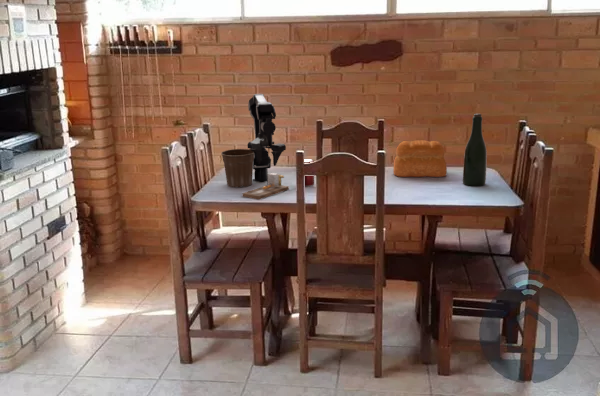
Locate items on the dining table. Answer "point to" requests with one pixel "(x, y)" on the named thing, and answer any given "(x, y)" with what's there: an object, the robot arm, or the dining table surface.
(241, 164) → the plant pot
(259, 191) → the board
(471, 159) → the green wine bottle
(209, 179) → the dining table surface
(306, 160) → the soda can
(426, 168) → the bread
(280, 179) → the keeper hook
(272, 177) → the grey metal piece
